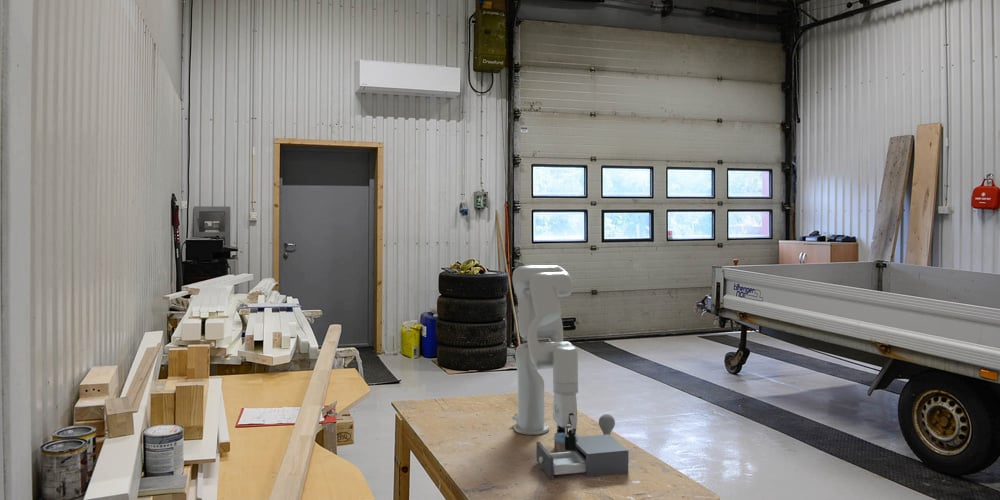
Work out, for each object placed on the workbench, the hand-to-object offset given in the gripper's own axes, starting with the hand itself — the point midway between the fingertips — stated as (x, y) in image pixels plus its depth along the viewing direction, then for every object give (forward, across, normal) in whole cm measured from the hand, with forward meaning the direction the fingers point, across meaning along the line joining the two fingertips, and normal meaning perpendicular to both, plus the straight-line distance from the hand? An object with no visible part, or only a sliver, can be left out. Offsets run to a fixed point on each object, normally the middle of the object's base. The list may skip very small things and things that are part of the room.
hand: (566, 445), depth 195 cm
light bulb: (+7, -19, +21) cm, 29 cm away
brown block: (+7, -17, +5) cm, 19 cm away
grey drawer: (+7, -1, -1) cm, 7 cm away
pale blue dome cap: (-1, 0, 0) cm, 1 cm away
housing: (+8, -1, +11) cm, 13 cm away
